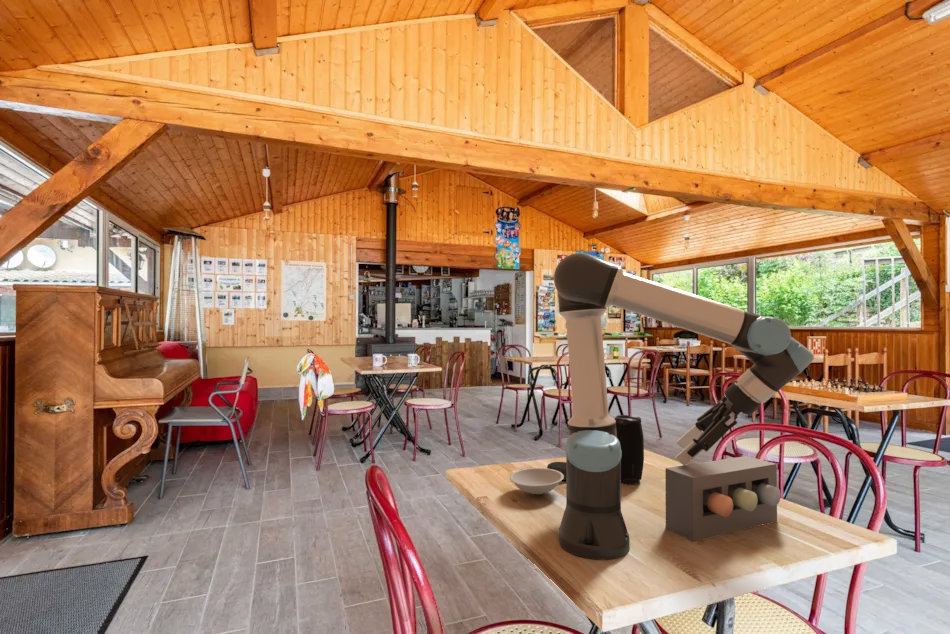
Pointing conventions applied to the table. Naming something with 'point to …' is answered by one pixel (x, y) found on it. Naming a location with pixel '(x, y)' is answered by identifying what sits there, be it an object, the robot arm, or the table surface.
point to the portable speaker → (630, 447)
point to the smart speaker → (558, 467)
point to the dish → (536, 480)
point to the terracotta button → (718, 503)
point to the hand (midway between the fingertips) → (680, 453)
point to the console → (717, 476)
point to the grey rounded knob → (767, 493)
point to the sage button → (743, 498)
